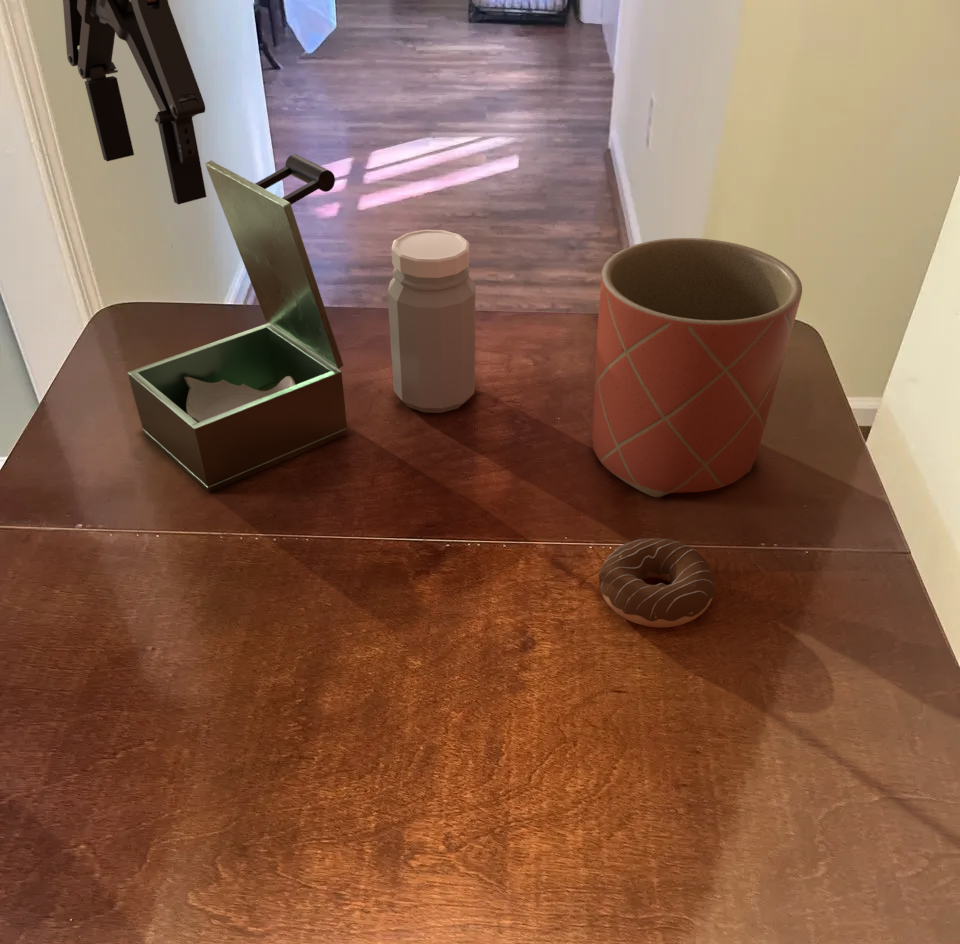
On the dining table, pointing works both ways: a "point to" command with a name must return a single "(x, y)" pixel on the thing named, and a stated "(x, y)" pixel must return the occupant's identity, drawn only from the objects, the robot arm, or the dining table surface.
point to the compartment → (249, 428)
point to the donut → (658, 602)
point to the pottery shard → (223, 396)
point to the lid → (279, 250)
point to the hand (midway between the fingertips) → (153, 178)
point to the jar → (432, 320)
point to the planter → (688, 361)
